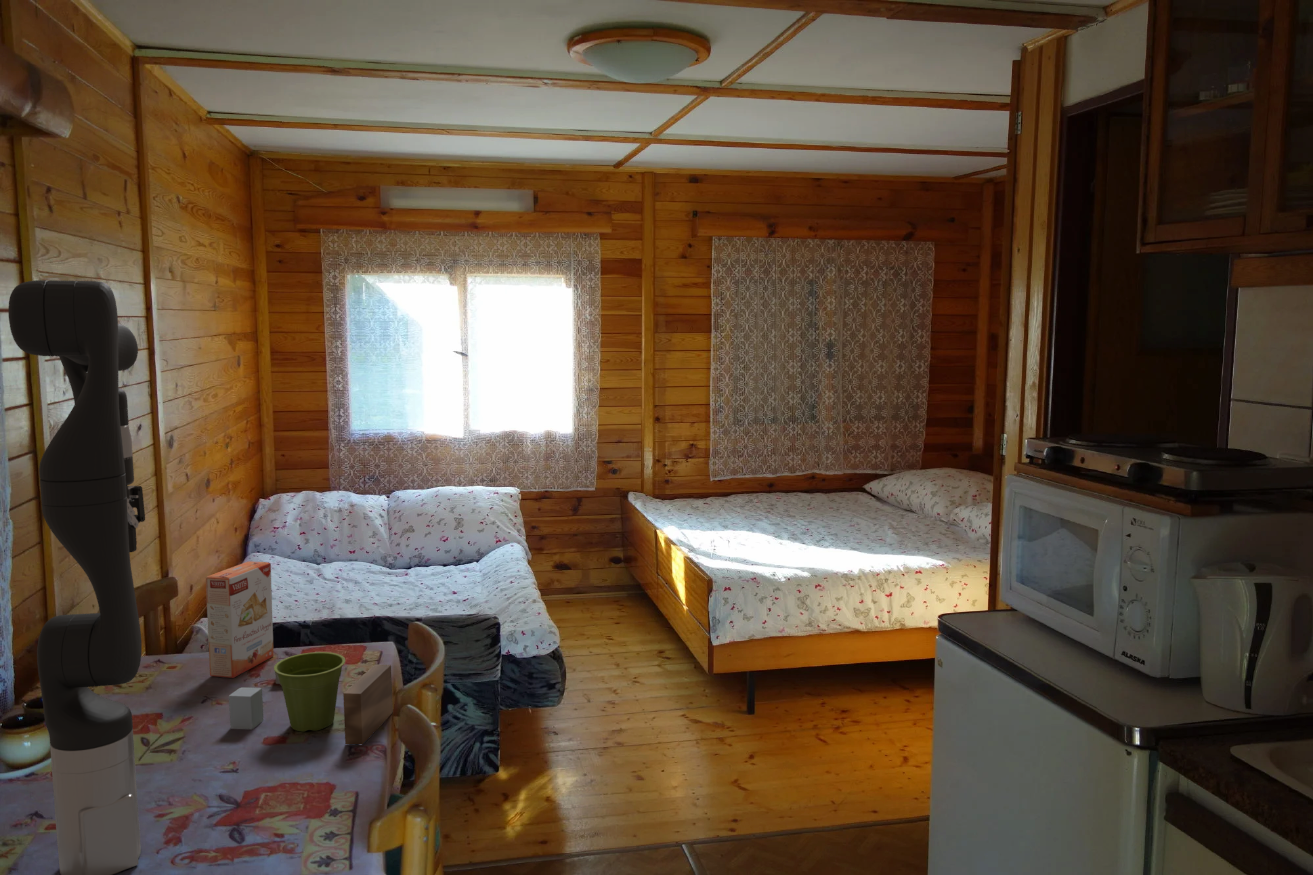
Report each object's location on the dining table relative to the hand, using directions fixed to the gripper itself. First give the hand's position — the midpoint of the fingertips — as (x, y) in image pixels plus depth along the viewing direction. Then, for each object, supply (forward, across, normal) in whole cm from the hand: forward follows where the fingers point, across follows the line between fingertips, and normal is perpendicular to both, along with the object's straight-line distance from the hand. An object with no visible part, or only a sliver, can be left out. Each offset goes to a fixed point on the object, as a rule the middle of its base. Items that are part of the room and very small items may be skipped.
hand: (111, 557), depth 148 cm
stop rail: (+34, +18, -34) cm, 51 cm away
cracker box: (+34, +46, +5) cm, 57 cm away
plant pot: (+34, +18, -23) cm, 45 cm away
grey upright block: (+34, +17, -11) cm, 40 cm away
